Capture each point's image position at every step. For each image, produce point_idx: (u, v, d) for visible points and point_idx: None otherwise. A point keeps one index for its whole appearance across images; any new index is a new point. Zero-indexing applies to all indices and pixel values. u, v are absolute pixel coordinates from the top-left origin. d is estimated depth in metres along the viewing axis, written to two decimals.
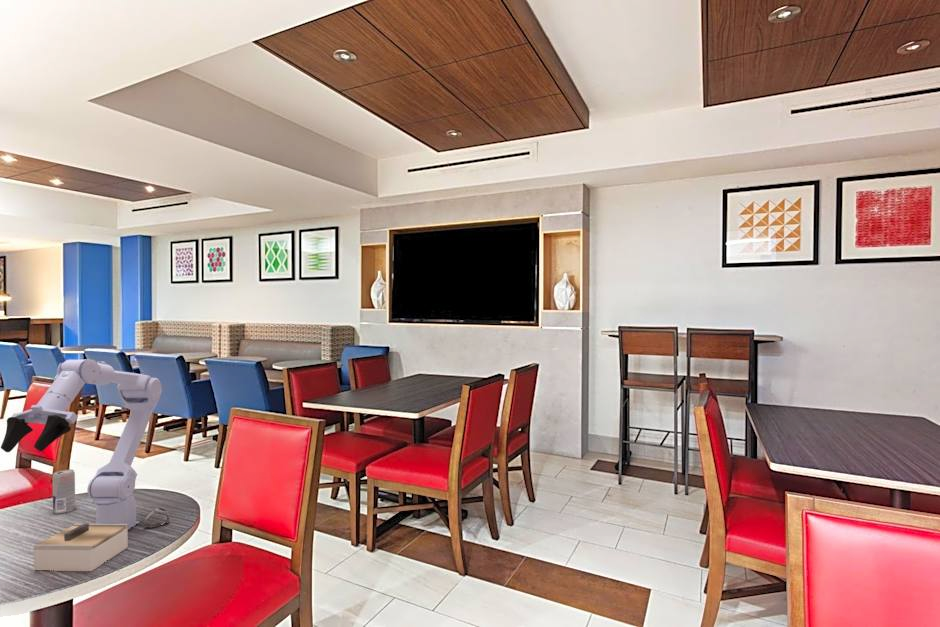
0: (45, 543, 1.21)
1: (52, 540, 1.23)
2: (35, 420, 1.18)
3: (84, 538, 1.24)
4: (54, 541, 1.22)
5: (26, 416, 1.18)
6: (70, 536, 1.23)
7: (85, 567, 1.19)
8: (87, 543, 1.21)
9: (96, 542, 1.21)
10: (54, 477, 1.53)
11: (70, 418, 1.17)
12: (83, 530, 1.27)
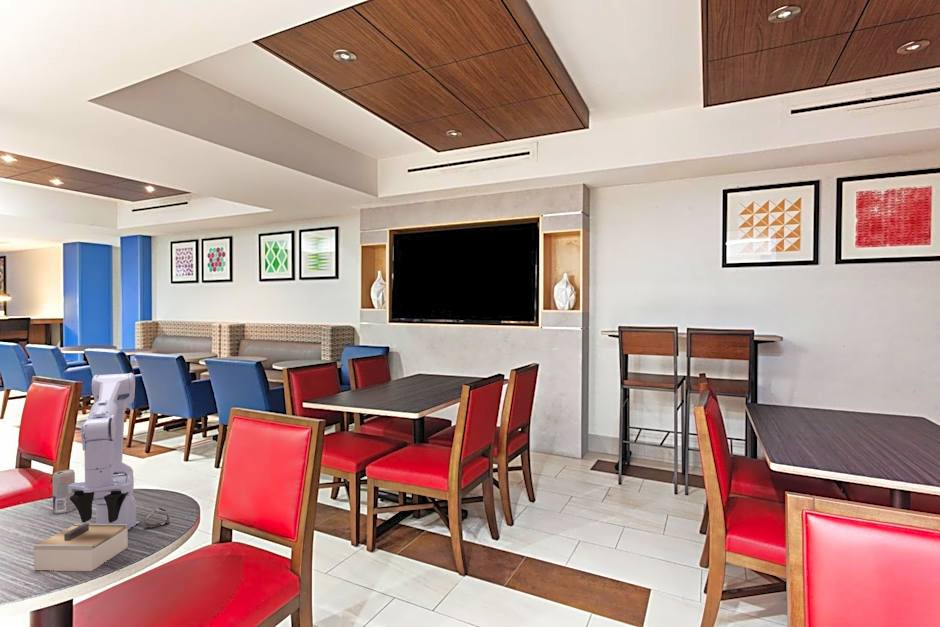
0: (45, 543, 1.21)
1: (52, 540, 1.23)
2: (93, 491, 1.25)
3: (84, 538, 1.24)
4: (54, 541, 1.22)
5: None
6: (70, 536, 1.23)
7: (85, 567, 1.19)
8: (87, 543, 1.21)
9: (96, 542, 1.21)
10: (54, 477, 1.53)
11: (126, 491, 1.24)
12: (83, 530, 1.27)
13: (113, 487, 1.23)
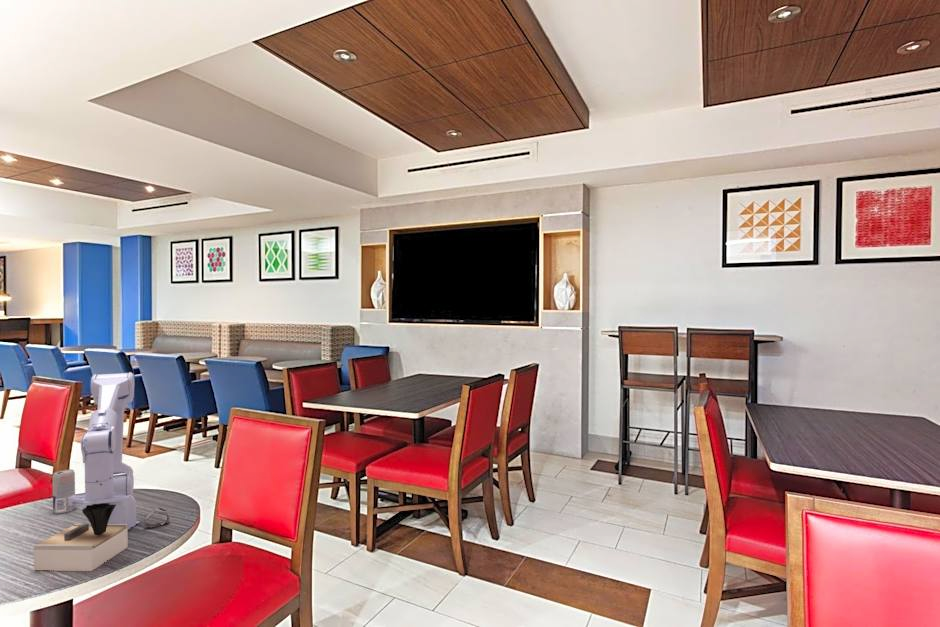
0: (45, 543, 1.21)
1: (52, 540, 1.23)
2: (93, 504, 1.25)
3: (84, 538, 1.24)
4: (54, 541, 1.22)
5: None
6: (70, 536, 1.23)
7: (85, 567, 1.19)
8: (87, 543, 1.21)
9: (96, 542, 1.21)
10: (54, 477, 1.53)
11: (126, 504, 1.24)
12: (83, 530, 1.27)
13: (113, 500, 1.23)
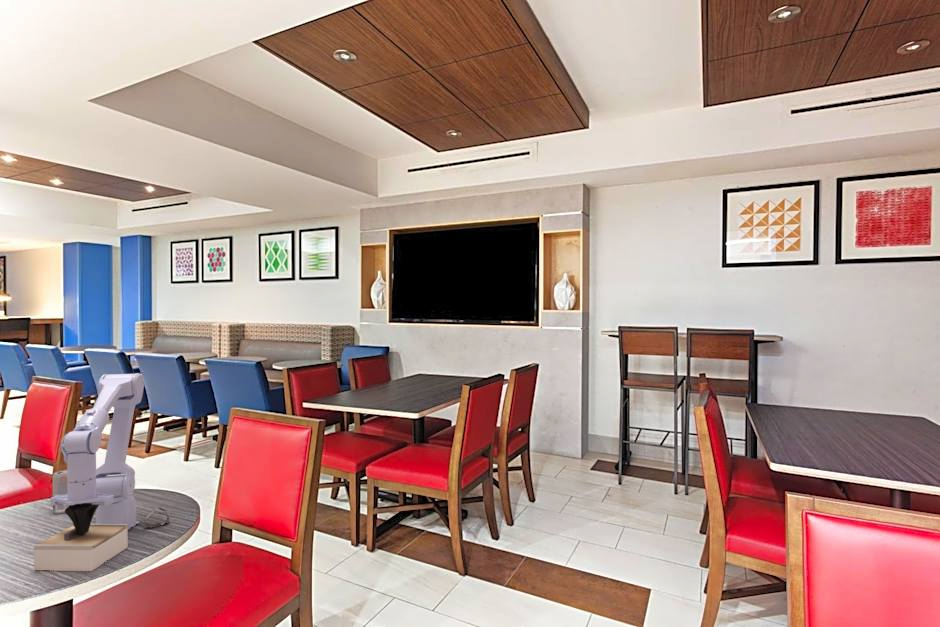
0: (45, 543, 1.21)
1: (52, 540, 1.23)
2: (76, 504, 1.25)
3: (84, 538, 1.24)
4: (54, 541, 1.22)
5: None
6: (70, 536, 1.23)
7: (85, 567, 1.19)
8: (87, 543, 1.21)
9: (96, 542, 1.21)
10: (54, 477, 1.53)
11: (108, 504, 1.24)
12: None
13: (96, 499, 1.24)
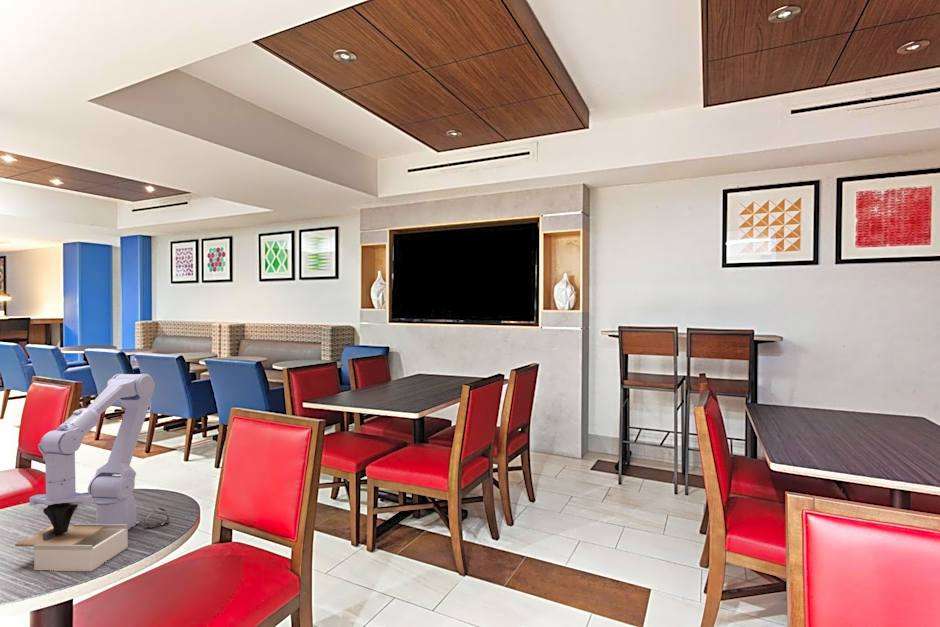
0: (23, 543, 1.21)
1: (30, 540, 1.23)
2: (55, 503, 1.25)
3: (62, 538, 1.24)
4: (32, 541, 1.22)
5: None
6: (48, 536, 1.23)
7: (85, 567, 1.19)
8: (65, 543, 1.21)
9: (74, 542, 1.22)
10: None
11: (87, 503, 1.25)
12: None
13: (74, 499, 1.24)
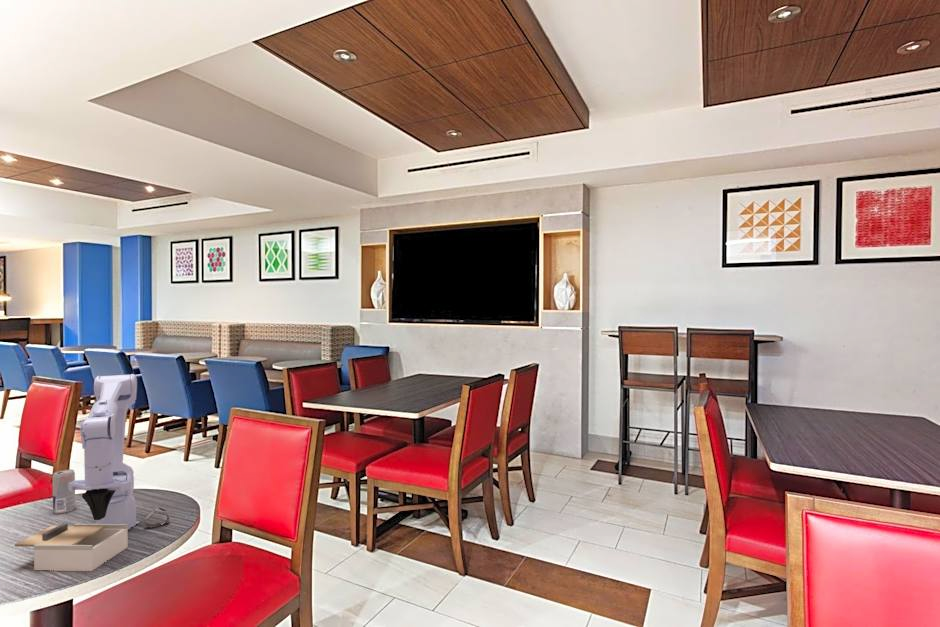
0: (23, 543, 1.21)
1: (30, 540, 1.23)
2: None
3: (62, 538, 1.24)
4: (32, 541, 1.22)
5: None
6: (48, 536, 1.23)
7: (85, 567, 1.19)
8: (65, 543, 1.21)
9: (74, 542, 1.22)
10: (54, 477, 1.53)
11: (124, 489, 1.25)
12: (62, 530, 1.27)
13: (112, 485, 1.25)
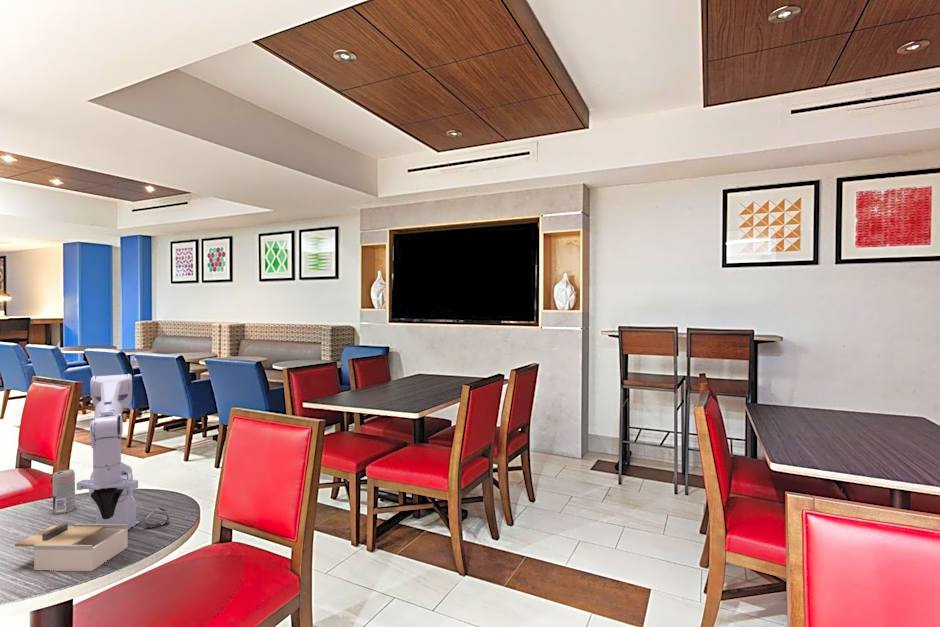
0: (23, 543, 1.21)
1: (30, 540, 1.23)
2: (101, 488, 1.27)
3: (62, 538, 1.24)
4: (32, 541, 1.22)
5: None
6: (48, 536, 1.23)
7: (85, 567, 1.19)
8: (65, 543, 1.21)
9: (74, 542, 1.22)
10: (54, 477, 1.53)
11: (133, 488, 1.26)
12: (62, 530, 1.27)
13: (121, 484, 1.25)
